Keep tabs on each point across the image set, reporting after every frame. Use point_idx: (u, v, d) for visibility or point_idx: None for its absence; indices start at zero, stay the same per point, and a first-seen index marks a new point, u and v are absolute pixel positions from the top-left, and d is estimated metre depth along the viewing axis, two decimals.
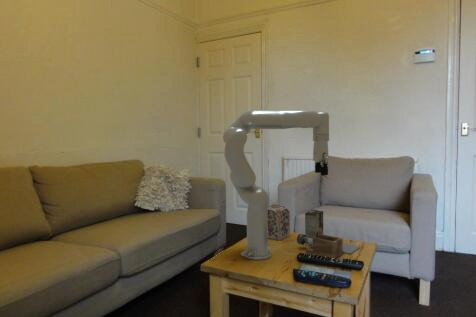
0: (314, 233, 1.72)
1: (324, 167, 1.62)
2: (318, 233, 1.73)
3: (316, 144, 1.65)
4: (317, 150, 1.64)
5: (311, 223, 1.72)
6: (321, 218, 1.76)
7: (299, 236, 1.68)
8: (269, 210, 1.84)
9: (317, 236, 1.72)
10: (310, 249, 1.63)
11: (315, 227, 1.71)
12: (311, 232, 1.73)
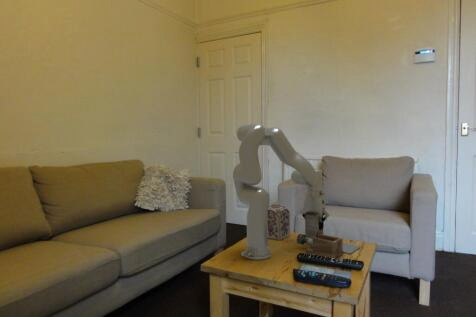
0: (314, 233, 1.72)
1: None
2: (318, 233, 1.73)
3: None
4: None
5: (311, 223, 1.72)
6: None
7: (299, 236, 1.68)
8: (269, 210, 1.84)
9: (317, 236, 1.72)
10: (310, 249, 1.63)
11: (315, 227, 1.71)
12: (311, 231, 1.73)
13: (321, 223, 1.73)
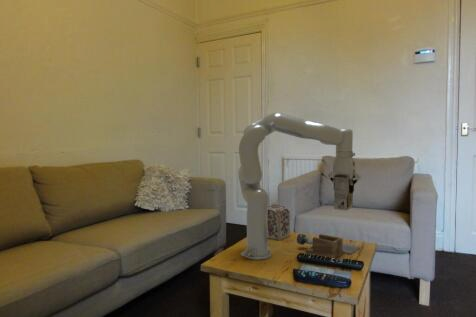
0: (345, 196, 1.62)
1: None
2: (348, 197, 1.63)
3: None
4: None
5: (340, 185, 1.62)
6: None
7: (299, 236, 1.68)
8: (269, 210, 1.84)
9: (347, 200, 1.62)
10: (310, 249, 1.63)
11: (345, 190, 1.61)
12: (341, 195, 1.62)
13: (351, 186, 1.63)
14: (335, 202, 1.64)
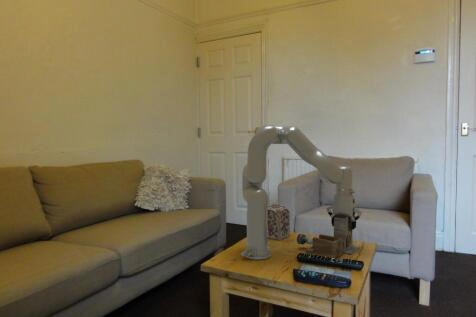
0: (344, 237, 1.63)
1: None
2: (348, 237, 1.64)
3: None
4: None
5: (340, 226, 1.64)
6: (350, 221, 1.67)
7: (299, 236, 1.68)
8: (269, 210, 1.84)
9: (347, 240, 1.63)
10: (310, 249, 1.63)
11: (345, 230, 1.62)
12: (341, 235, 1.64)
13: (354, 222, 1.63)
14: None
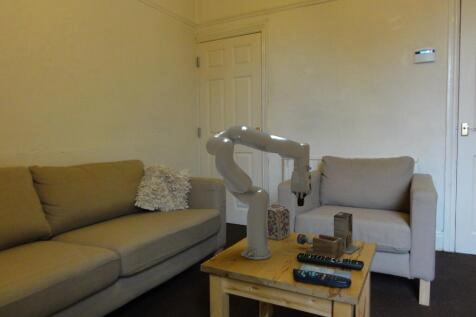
0: (344, 237, 1.63)
1: None
2: (348, 237, 1.64)
3: None
4: None
5: (340, 226, 1.64)
6: (350, 221, 1.67)
7: (299, 236, 1.68)
8: (269, 210, 1.84)
9: (347, 240, 1.63)
10: (310, 249, 1.63)
11: (345, 230, 1.62)
12: (341, 235, 1.64)
13: (301, 199, 1.69)
14: None
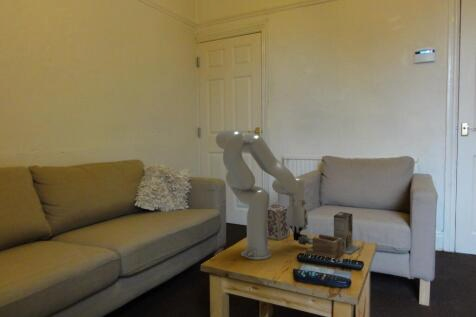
0: (344, 237, 1.63)
1: None
2: (348, 237, 1.64)
3: None
4: None
5: (340, 226, 1.64)
6: (350, 221, 1.67)
7: (300, 236, 1.67)
8: (269, 210, 1.84)
9: (347, 240, 1.63)
10: (310, 249, 1.63)
11: (345, 230, 1.62)
12: (341, 235, 1.64)
13: (297, 233, 1.69)
14: None
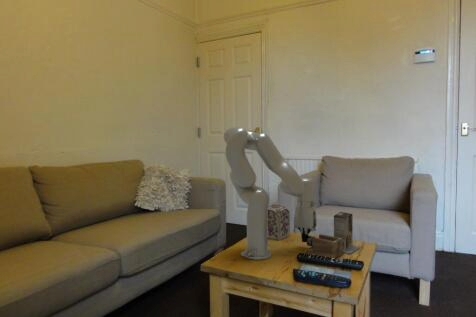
0: (344, 237, 1.63)
1: None
2: (348, 237, 1.64)
3: None
4: None
5: (340, 226, 1.64)
6: (350, 221, 1.67)
7: (309, 238, 1.64)
8: (269, 210, 1.84)
9: (347, 240, 1.63)
10: (310, 249, 1.63)
11: (345, 230, 1.62)
12: (341, 235, 1.64)
13: (306, 235, 1.66)
14: None
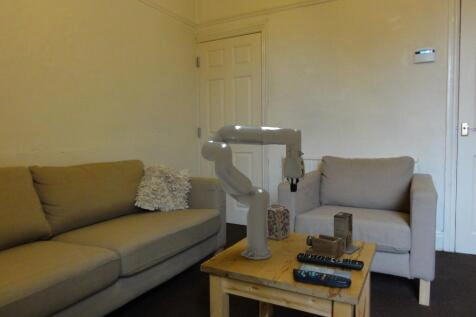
0: (344, 237, 1.63)
1: None
2: (348, 237, 1.64)
3: None
4: None
5: (340, 226, 1.64)
6: (350, 221, 1.67)
7: (308, 238, 1.65)
8: (269, 210, 1.84)
9: (347, 240, 1.63)
10: (310, 249, 1.63)
11: (345, 230, 1.62)
12: (341, 235, 1.64)
13: (294, 185, 1.70)
14: None
